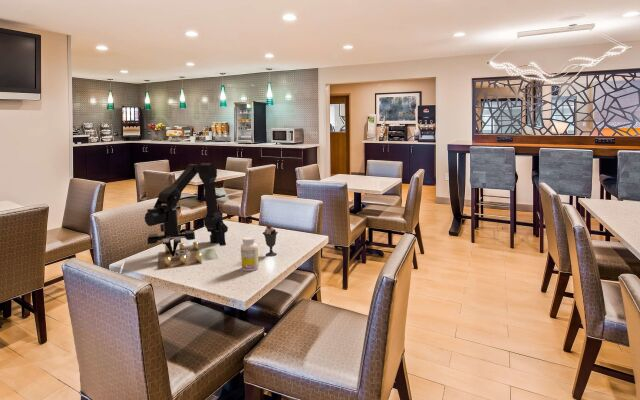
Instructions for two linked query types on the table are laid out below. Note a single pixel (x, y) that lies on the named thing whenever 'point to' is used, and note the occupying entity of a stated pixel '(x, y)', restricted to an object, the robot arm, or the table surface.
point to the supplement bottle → (249, 254)
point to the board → (205, 255)
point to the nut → (182, 252)
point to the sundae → (270, 239)
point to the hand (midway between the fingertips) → (173, 256)
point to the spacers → (182, 257)
